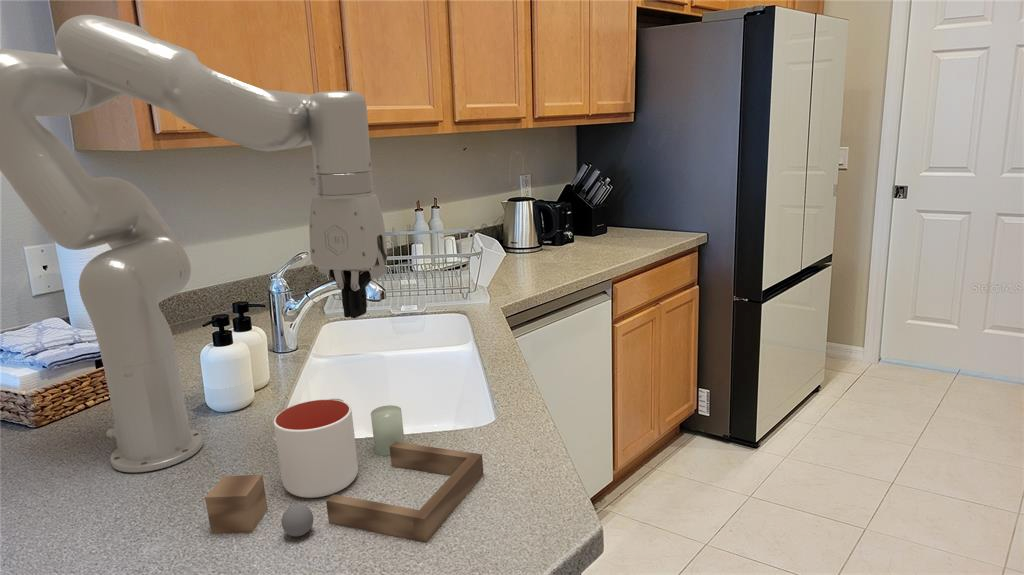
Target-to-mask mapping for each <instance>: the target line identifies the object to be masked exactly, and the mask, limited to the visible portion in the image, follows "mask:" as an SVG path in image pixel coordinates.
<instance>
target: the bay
mask: <svg viewBox="0 0 1024 575" xmlns="http://www.w3.org/2000/svg"><path fill="white" fill-rule="evenodd" d="M389 457H390V464H391V467H396V468H401V469H408V470H414V471H421V472H427V473H433V474H439V475H447V476H449V477H448V478H447V479H446V480H445V481H444V482H443V484H442V485H441V486H440V487H439V488H438V489H437V490H436V491H435V492H434V494H432V496H431V497H430V498H429V499H428V500H427V501H426V502H425V503H424V504H423V505H422V507H421V508H419V509H416V508H410V507H406V506H400V505H395V504H388V503H383V502H378V501H373V500H367V499H363V498H362V499H361V498H355V497H351V496H346V495H345V496H344V495H340V494H336V493H333V494H331V496H330V497H329V498H327V499H326V500H325V503H326V511H327V517H328V519H327V520H328V523H329V524H333V525H338V526H343V527H349V528H353V529H359V530H363V531H369V532H373V533H377V534H384V535H389V536H393V537H398V538H404V539H408V540H414V541H418V542H422V543H423V542H424V543H427V542H429V540H430V539H431V538H432V537H433V536H434V534H435V533H436V532H437V531H438V530H439V528H440V527H441V526H442V525H443V523H444V522H445V521H446V520H447V518H449V516H450V515H451V514H452V513H453V511H454V510H455V509H456V508H457V507H458V506H459V505H460V504H461V502H462V501H463V500H464V498H465V497H466V496H467V495H468V494H469V493H470V491H471V490H472V489H473V488H474V487H475V486H476V484H477V483H478V482H479V480H480V479H481V478H482V477H483V476H484V475H485V474H484V461H483V460H484V459H483V454H482V453H477V452H469V451H462V450H455V449H449V448H448V449H447V448H441V447H435V446H429V445H428V446H427V445H419V444H415V443H413V444H412V443H407V442H405V443H400V442H394V443H393V444H392V445H391V446H390V456H389Z"/></svg>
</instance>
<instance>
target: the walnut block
mask: <svg viewBox="0 0 1024 575" xmlns="http://www.w3.org/2000/svg"><path fill="white" fill-rule="evenodd" d="M204 500H205V505H206V512H207V516H208V523H209V528H210V533H211V535H219V534H221V535H222V534H225V535H226V534H227V535H228V534H252V533H253V532H254V531H255V529H256V528H257V526H259V524H260V522H261V521H262V519H263V518H264V516H266V513H267V512H268V502H267V495H266V490H265V483H264V477H263V474H248V475H247V474H244V475H243V474H242V475H222V477H221V478H220V479H219V480H218V481H217V483H216V484H215V485H214V486H213V487H212V488H211V489H210V491H209V492H208V493H207V494H206V495H205V497H204Z"/></svg>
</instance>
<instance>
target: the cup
mask: <svg viewBox="0 0 1024 575" xmlns="http://www.w3.org/2000/svg"><path fill="white" fill-rule="evenodd" d="M331 399H332V398H328V399H327V398H326V399H314V400H308V401H307V400H306V401H303V402H300V403H296V404H294V405H291V406H289V407H287V408H285V409H283V410H282V411H280V412H279V413H277V414H276V415H275V417H274V418H273V429H274V437H275V443H276V450H277V458H278V463H279V469H280V470H279V471H280V476H281V482H282V485H283V487H284V489H285V490H286V491H287V492H289V493H290V494H291V495H294V496H296V497H300V498H306V499H307V498H310V499H313V498H322V497H326V496H330V495H333V494H337V493H338V492H340V491H342V490H344V489H345V488H347V487H349V485H351V484H352V483H353V482H354V480H355V479H356V477H357V475H358V472H359V462H358V454H357V444H356V436H355V428H354V427H355V426H354V420H353V412H352V411H353V410H352V407H351V405H350V404H348V403H347V402H345V401H344V400H343V401H344V402H343V401H339V400H331Z"/></svg>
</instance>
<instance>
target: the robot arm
mask: <svg viewBox="0 0 1024 575" xmlns="http://www.w3.org/2000/svg"><path fill="white" fill-rule="evenodd" d="M54 41H55V42H54V43H55V44H54V45H55V51H56V52H57V54H53V53H45V52H37V51H30V50H21V49H14V48H4V49H3V48H0V173H2V174H3V176H4V177H5V179H6V180H7V181H8V183H9V185H10V186H11V187H12V189H13V190H14V191H15V193H16V194H17V195H18V197H19V198H20V200H22V202H23V204H24V205H25V206H26V207H27V208H28V209H29V211H30V213H31V214H32V215H33V216H34V218H35V219H36V220H37V222H38V223H39V225H40V226H41V227H42V228H43V230H44V231H45V232H46V234H47V235H48V236H49V237H50V239H51V240H53V241H54V242H55V243H56V244H57V245H59V246H60V247H62V248H65V249H67V250H72V251H80V250H81V251H82V250H86V249H91V248H97V247H98V246H102V245H106V244H107V245H108V246H109V247H110V248H111V249H109V250H106V251H103V252H101V253H99V254H98V255H96V256H95V257H93V258H92V259H91V260H90V261H89V260H88V263H86V265H84V267H83V269H82V270H81V273H80V275H79V280H78V290H79V291H78V292H79V295H80V299H81V301H82V303H83V306H84V308H85V310H86V313H87V315H88V317H89V319H90V321H91V322H90V323H91V324H92V327H93V330H94V332H95V337H96V340H97V343H98V349H99V353H100V357H101V362H102V365H103V366H102V367H103V370H104V374H105V379H106V385H107V389H108V394H109V398H110V405H111V410H112V412H113V419H114V424H113V428H108V429H107V430H106V434H105V435H106V437H107V438H110V439H115V440H116V446H117V448H115V450H113V451H112V453H111V455H110V464H111V466H112V468H114V470H117V471H118V472H123V473H124V472H125V473H144V472H145V473H146V472H151V471H157V470H161V469H164V468H168V467H171V466H174V465H176V464H179V463H181V462H184V461H186V460H188V459H189V458H191V457H192V456H194V455H196V453H198V452H199V451H200V450H201V448H202V447H203V445H204V436H203V434H202V432H200V431H198V430H197V429H193V428H190V421H189V415H188V410H187V404H186V400H185V394H184V388H183V384H182V379H181V373H180V366H179V360H178V355H177V350H176V346H175V341H174V337H173V336H174V335H173V332H172V329H171V327H170V325H169V322H168V321H167V319H166V317H165V315H164V314H163V312H162V310H161V308H160V305H159V304H160V303H162V301H164V300H167V299H169V298H171V297H173V296H175V295H176V294H179V293H180V292H181V291H182V290H183V289H184V288H185V287H186V286H187V284H188V282H189V280H190V278H191V272H192V271H191V270H192V269H191V268H192V267H191V262H190V259H189V257H188V254H187V252H186V250H185V248H184V247H183V245H182V244H181V243H180V241H179V240H178V239H177V237H176V235H175V234H174V233H173V231H172V230H171V228H170V227H169V226H168V224H167V223H166V222H165V220H164V218H163V217H162V215H161V214H160V213H159V212H158V210H157V209H156V208H155V206H154V205H153V204H152V202H151V201H150V199H149V198H148V196H146V194H145V192H143V191H142V190H141V189H139V187H137V186H135V184H133V183H132V182H129V180H125V179H123V178H121V177H115V176H100V177H94V178H93V177H91V176H90V175H89V173H87V171H85V169H84V168H83V167H82V166H81V164H80V163H79V162H78V160H77V159H76V158H75V157H74V155H73V153H72V151H71V150H70V149H69V147H67V145H65V143H63V141H62V140H60V138H59V137H58V136H57V135H55V134H54V133H52V132H51V131H50V130H48V129H47V128H46V127H45V126H43V125H42V124H41V123H40V122H39V121H38V119H37V118H36V117H65V116H67V117H68V116H69V117H70V116H75V115H78V114H83V113H86V112H88V111H91V110H93V109H95V108H97V107H99V106H101V105H104V104H106V103H108V102H110V101H113V100H115V99H116V98H119V97H121V96H124V95H125V96H128V97H130V98H133V99H136V100H138V101H141V102H143V103H146V104H149V105H152V106H154V107H156V108H159V109H162V110H164V111H167V112H169V113H170V114H172V115H174V116H175V117H176V118H178V119H180V120H182V121H184V122H186V123H187V124H189V125H191V126H193V127H195V128H197V129H199V130H202V131H204V132H205V133H208V134H211V135H213V136H215V137H218V138H221V139H224V140H227V141H229V142H232V143H235V144H237V145H240V146H243V147H245V148H248V149H251V150H256V151H260V152H275V151H281V150H292V149H299V148H303V147H309V146H311V149H312V159H313V170H314V176H311V178H310V181H309V182H310V185H311V187H315V191H316V195H314V196H312V197H311V202H310V208H309V222H308V223H309V225H308V226H309V228H308V229H309V231H308V232H309V252H310V259H311V263H312V264H313V266H314V267H316V268H317V271H318V272H319V273H320V274H323V275H325V276H329V277H331V279H332V280H333V281H334V282H335V283H336V284H335V285H336V288H337V289H338V290H340V291H341V302H342V309H343V316H344V318H346V319H347V318H351V319H357V318H359V317H361V316H363V315H366V314H367V311H368V310H367V308H368V302H367V290H366V289H367V288H366V287H368V286H370V282H371V281H372V280H373V279H377V278H381V277H384V276H387V274H388V271H387V267H386V263H387V260H388V245H387V236H386V229H385V228H386V227H385V223H384V218H383V211H382V208H381V205H380V201H379V197H378V195H377V194H374V185H373V172H372V161H371V145H370V144H371V143H370V134H369V120H368V107H367V106H368V105H367V101H366V99H365V97H364V96H363V94H362V93H360V92H357V91H350V90H349V91H348V90H333V91H331V90H330V91H319V92H318V91H317V92H315V93H313V94H307V93H301V92H300V93H299V92H298V93H297V92H290V91H282V90H270V89H264V88H261V87H259V86H258V87H257V86H255V85H253V84H249V83H247V82H244V81H241V80H239V79H236V78H234V77H231V76H229V75H226V74H223V73H221V72H219V71H216V70H214V69H212V68H210V67H208V66H206V65H204V64H203V63H202V62H201V61H200V60H199V57H198V55H197V54H196V53H195V52H193V51H191V50H190V49H188V48H185V47H182V46H179V45H176V44H174V43H171V42H168V41H166V40H163V39H161V38H157V37H155V36H152V35H151V34H150V33H149V32H148V31H147V30H145V29H144V28H142V27H140V26H139V25H137V24H134V23H131V22H128V21H123V20H118V19H114V18H110V17H105V16H103V15H102V16H100V15H95V14H80V15H77V16H73V17H71V18H69V19H67V20H65V22H63V23H62V24H61V25H60V27H59V29H58V30H57V32H56V35H55V40H54Z"/></svg>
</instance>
